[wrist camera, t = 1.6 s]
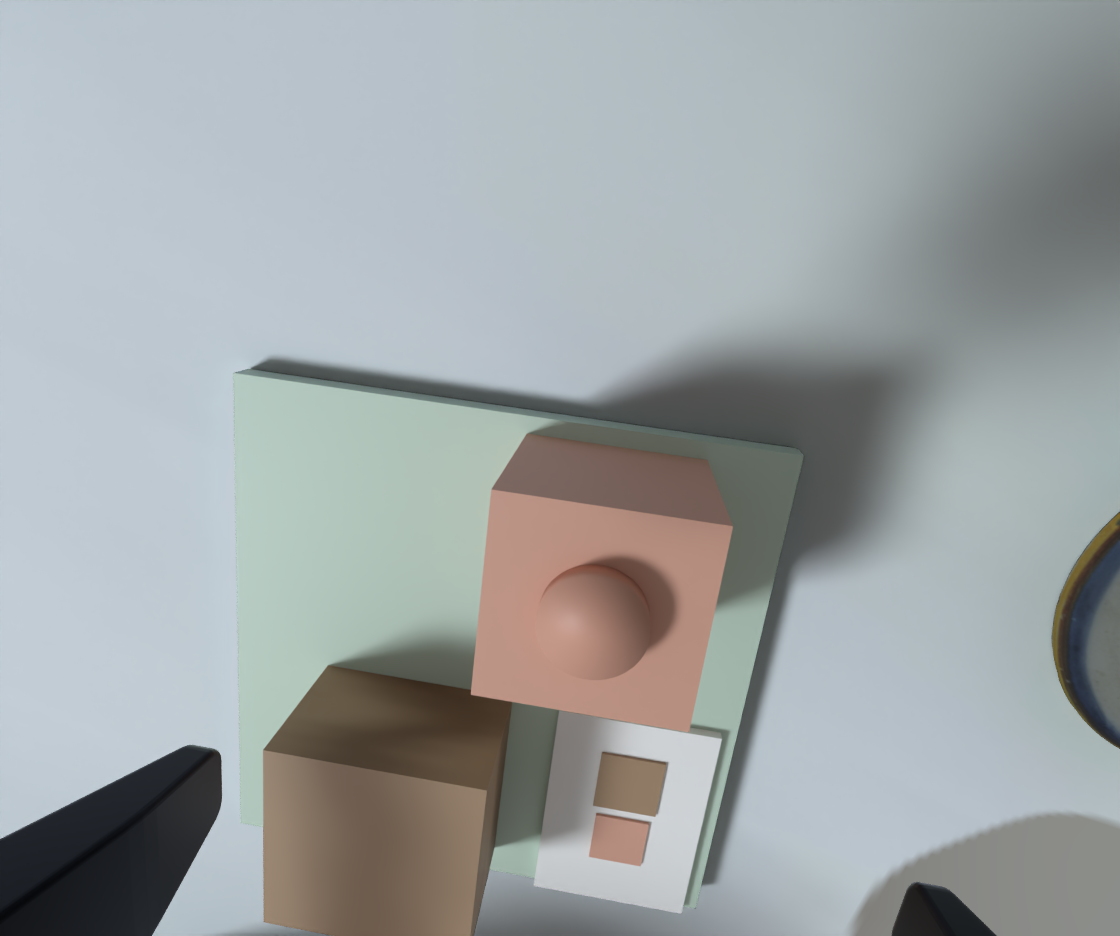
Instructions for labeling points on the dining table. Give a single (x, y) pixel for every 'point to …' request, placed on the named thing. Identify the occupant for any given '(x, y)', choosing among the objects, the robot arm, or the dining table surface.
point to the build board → (453, 608)
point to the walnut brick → (382, 807)
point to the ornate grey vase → (1092, 634)
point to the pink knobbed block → (600, 581)
